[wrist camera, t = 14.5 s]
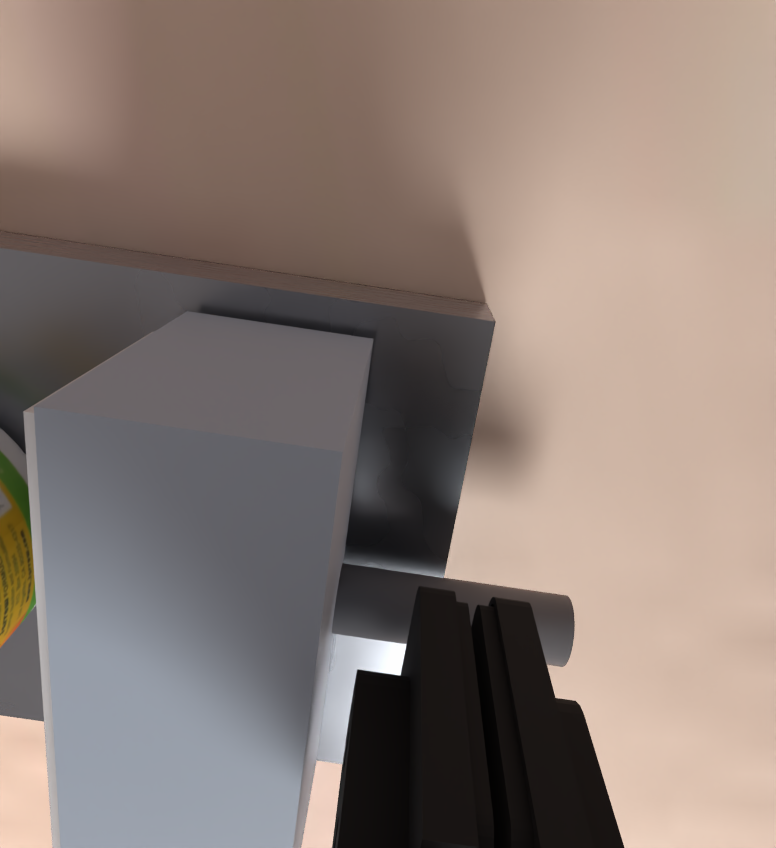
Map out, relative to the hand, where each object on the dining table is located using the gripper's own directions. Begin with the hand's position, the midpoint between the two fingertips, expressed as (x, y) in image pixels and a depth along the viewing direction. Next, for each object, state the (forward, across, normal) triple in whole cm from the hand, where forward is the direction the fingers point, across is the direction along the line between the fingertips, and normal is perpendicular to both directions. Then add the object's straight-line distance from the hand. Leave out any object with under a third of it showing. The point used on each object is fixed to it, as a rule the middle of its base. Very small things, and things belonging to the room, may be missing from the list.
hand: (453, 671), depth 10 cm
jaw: (+2, +2, 0) cm, 3 cm away
